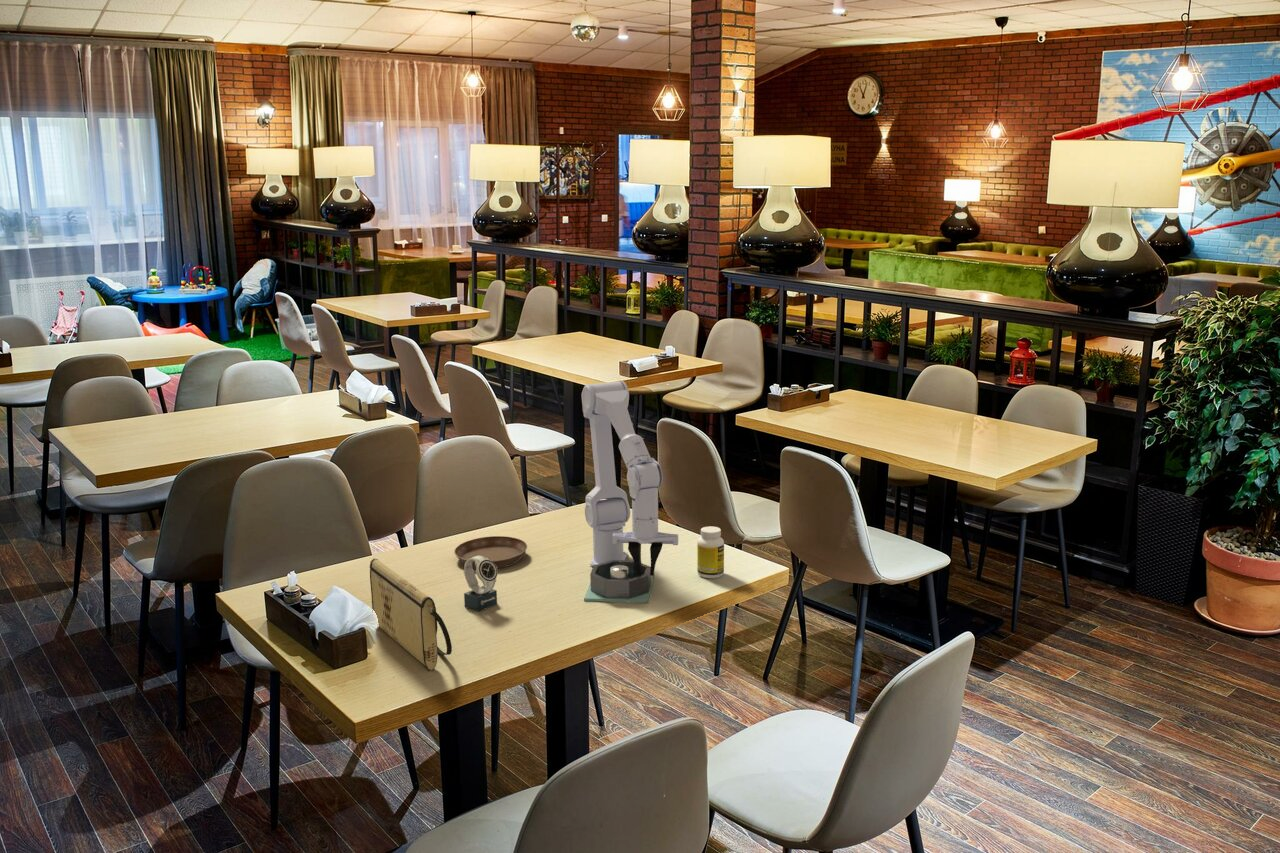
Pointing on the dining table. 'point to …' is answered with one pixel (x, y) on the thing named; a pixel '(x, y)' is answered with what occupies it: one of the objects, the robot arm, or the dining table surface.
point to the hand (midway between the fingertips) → (645, 574)
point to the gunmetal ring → (620, 588)
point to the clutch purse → (406, 614)
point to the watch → (487, 574)
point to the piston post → (619, 572)
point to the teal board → (595, 597)
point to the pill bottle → (710, 553)
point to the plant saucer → (492, 550)
